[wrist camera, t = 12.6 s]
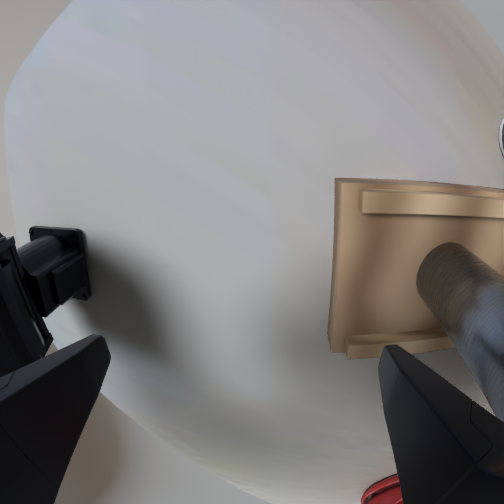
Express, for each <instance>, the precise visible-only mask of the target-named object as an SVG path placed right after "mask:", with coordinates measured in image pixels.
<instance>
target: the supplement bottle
mask: <svg viewBox="0 0 504 504" xmlns="http://www.w3.org/2000/svg"><path fill="white" fill-rule="evenodd" d="M499 142H500V147H501V151H502V153H503V155H504V118H503V120H502V123H501V126H500V130H499Z"/></svg>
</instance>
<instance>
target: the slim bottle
mask: <svg viewBox="0 0 504 504" xmlns="http://www.w3.org/2000/svg"><path fill="white" fill-rule="evenodd" d="M416 286H417V291H418V293H419V295H420V297H421V299H422V300H423V301H424V303H425V304H426V305H427V307H428V308H429V310H430V311H431V312H432V314H433V315H434V317H435V318H436V319H437V321H438V322H439V324H440V325H441V327H442V328H443V330H444V331H445V333H446V334H447V336H448V337H449V338H450V340H451V342H452V343H453V345H454V346H455V348H456V349H457V351H458V352H459V354H460V355H461V357H462V359H463V360H464V362H465V363H466V365H467V367H468V368H469V370H470V371H471V373H472V375H473V376H474V378H475V380H476V381H477V383H478V385H479V387H480V388H481V390H482V392H483V393H484V395H485V397H486V399H487V401H488V402H489V404H490V406H491V408H492V410H493V412H494V413H495V415H496V417H497V418H499V419H500V420H502V421H503V422H504V277H503V276H502V275H501V274H499V273H498V272H497V271H496V270H494V269H493V268H492V267H490V266H489V265H488V264H487V263H485V262H484V261H483V260H481V259H480V258H479V257H477V256H476V255H475V254H473V253H472V252H471V251H469V250H468V249H466V248H465V247H464V246H462V245H461V244H459V243H455V242H448V243H443V244H441V245H439V246H437V247H435V248H434V249H433V250H431V251H430V252H429V253H428V254H427V255H426V257H425V258H424V260H423V261H422V263H421V265H420V267H419V270H418V273H417V278H416Z"/></svg>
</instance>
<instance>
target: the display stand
mask: <svg viewBox="0 0 504 504" xmlns="http://www.w3.org/2000/svg"><path fill="white" fill-rule="evenodd" d="M448 242H455V243H459V244H461V245H462V246H464V247H465V248H466V249H468V250H469V251H471V252H472V253H473V254H475V255H476V256H477V257H479V258H480V259H481V260H483V261H484V262H485V263H487V264H488V265H489V266H490V267H492V268H493V269H494V270H496V271H497V272H498V273H499V274H501V275H502V276H503V277H504V189H497V188H489V187H480V186H471V185H461V184H450V183H438V182H424V181H408V180H389V179H361V178H335V211H334V245H333V267H332V283H331V298H330V311H329V322H328V339H329V344H330V350H331V353H333V352H346V356H347V359H360V358H373V357H381V354H382V350H383V347H384V346H385V345H390V344H397V345H399V346H400V347H402V348H403V349H405V350H406V351H407V352H409V353H410V354H414V353H423V352H430V351H438V350H444V349H451V348H455V346H454V345H453V343H452V342H451V340H450V338H449V337H448V336H447V334H446V333H445V331H444V330H443V328H442V327H441V325H440V324H439V322H438V321H437V319H436V318H435V317H434V315H433V314H432V312H431V311H430V310H429V308H428V307H427V305H426V304H425V303H424V301H423V300H422V299H421V297H420V295H419V293H418V291H417V286H416V278H417V273H418V270H419V267H420V265H421V263H422V261H423V260H424V258H425V257H426V255H427V254H428V253H429V252H430V251H431V250H433V249H434V248H435V247H437V246H439V245H441V244H443V243H448Z"/></svg>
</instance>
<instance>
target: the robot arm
mask: <svg viewBox="0 0 504 504" xmlns="http://www.w3.org/2000/svg"><path fill="white" fill-rule="evenodd" d="M29 234H30V240H31V242H29V243H27V244H25V245H24V246H22V247H20V248H18V249H16V246H15V239H14V236H12V237H9V238H6V237H4V236H3V235H2V234H1V233H0V504H54V502H55V499H56V496H57V494H58V491H59V488H60V485H61V482H62V480H63V477H64V475H65V472H66V469H67V467H68V464H69V462H70V459H71V457H72V454H73V452H74V450H75V447H76V445H77V442H78V440H79V438H80V435H81V433H82V431H83V428H84V426H85V423H86V422H87V419H88V417H89V415H90V412H91V410H92V408H93V406H94V404H95V402H96V399H97V397H98V395H99V392H100V389H101V386H102V383H103V380H104V378H105V375H106V372H107V369H108V366H109V364H110V360H111V355H110V352H109V349H108V346H107V343H106V341H105V338H104V337H103V336H101V335H94V334H93V335H90V336H88V337H86V338H84V339H82V340H80V341H77V342H75V343H73V344H71V345H69V346H67V347H65V348H63V349H60V350H58V351H56V352H54V353H52V354H50V355H48V356H46V357H44V356H45V354H46V352H47V351H48V349H49V347H50V345H51V343H52V341H53V337H52V335H51V333H49V331H48V329H47V327H46V324H45V322H44V320H43V318H42V317H47V316H48V315H50V314H51V313H52V312H53V311H54V310H55V309H56V308H58V307H59V306H60V305H63V304H64V303H66V302H67V301H68V300H69V299H70V298H71V297H72V298H76V299H81V300H88V299H89V298H90V297H91V292H90V287H89V281H88V275H87V269H86V263H85V256H84V249H83V241H82V234H81V232H80V230H78V229H71V228H57V227H42V226H33V227H31V228H30V229H29ZM75 234H76V235H77V237H76V236H75ZM85 294H86V295H85ZM378 372H379V379H380V386H381V393H382V401H383V409H384V415H385V419H386V424H387V428H388V432H389V436H390V440H391V445H392V449H393V454H394V458H395V463H396V468H397V473H398V478H399V483H400V488H401V494H402V500H403V504H504V422H503V421H502V420H500V419H499V418H497V417H495V416H494V415H492V414H491V413H490V412H488V411H487V410H485V409H484V408H483V407H481V406H480V405H479V404H477V403H476V402H475V401H472V399H470V398H469V397H468V396H466V395H465V394H464V393H462V392H461V391H460V390H458V389H457V388H456V387H454V386H453V385H452V384H450V383H449V382H448V381H446V380H445V379H444V378H442V377H441V376H440V375H438V374H437V373H436V372H434V371H433V370H432V369H430V368H429V367H428V366H426V365H425V364H423V363H422V362H421V361H419V360H418V359H417V358H415V357H414V356H413V355H411V354H410V353H409V352H407V351H406V350H405V349H403V348H402V347H400V346H399V345H397V344H390V345H385V346H384V347H383V350H382V354H381V358H380V362H379V367H378Z"/></svg>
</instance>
